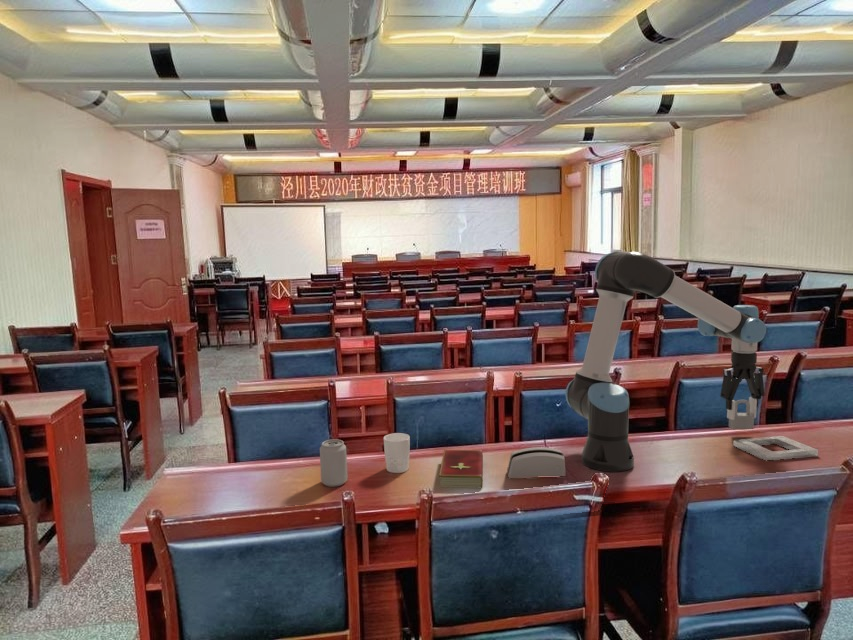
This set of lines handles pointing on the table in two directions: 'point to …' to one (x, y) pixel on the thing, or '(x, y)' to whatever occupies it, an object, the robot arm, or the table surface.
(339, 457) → the can
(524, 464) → the napkin holder
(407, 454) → the white cup
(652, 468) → the table surface
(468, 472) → the hardcover book
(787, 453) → the holed plate
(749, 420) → the padlock
